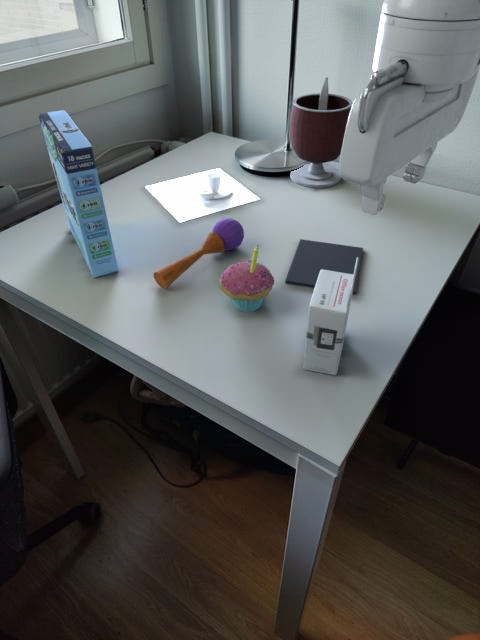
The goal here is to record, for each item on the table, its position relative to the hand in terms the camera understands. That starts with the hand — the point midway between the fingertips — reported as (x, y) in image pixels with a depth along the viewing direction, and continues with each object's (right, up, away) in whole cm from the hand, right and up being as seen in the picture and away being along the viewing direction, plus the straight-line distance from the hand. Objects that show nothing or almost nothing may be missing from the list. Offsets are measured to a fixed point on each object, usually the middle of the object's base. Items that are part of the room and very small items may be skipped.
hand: (393, 195), depth 50 cm
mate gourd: (+2, +22, +63) cm, 66 cm away
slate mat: (-1, -4, +34) cm, 34 cm away
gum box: (-45, 0, +39) cm, 60 cm away
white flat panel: (-26, +16, +57) cm, 64 cm away
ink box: (-4, -19, +17) cm, 26 cm away
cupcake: (-16, -11, +26) cm, 32 cm away
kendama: (-24, -3, +35) cm, 42 cm away
